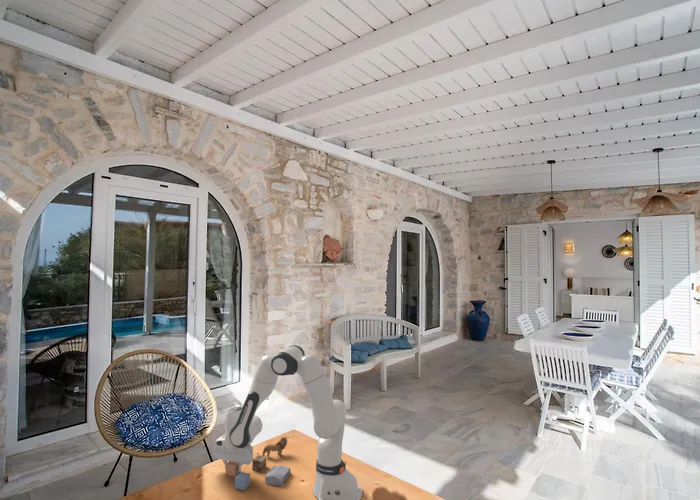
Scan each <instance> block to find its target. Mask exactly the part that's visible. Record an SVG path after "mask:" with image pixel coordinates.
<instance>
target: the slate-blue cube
mask: <svg viewBox="0 0 700 500" xmlns="http://www.w3.org/2000/svg"><path fill="white" fill-rule="evenodd" d="M250 485H251V473H249V472H244V471H240V472H239V473H238V474H237V475H236V476H235V477H234V489H235V490H241V491H245V490H246V489H247V488H248V487H249V486H250Z"/></svg>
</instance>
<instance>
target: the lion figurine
mask: <svg viewBox="0 0 700 500" xmlns="http://www.w3.org/2000/svg"><path fill="white" fill-rule="evenodd" d="M287 444H288V437H287V436H282V437H280V440H278V442H276V443H274V444H272V443H269V444H266V445H265V446H264V448H263V450H262V454H261V456H266V457H267V459H269V460H271V459H272V457H271V456H270V454H271V452H276V454H277V455H279V457H283V455H282V453H283V450H285V449H286V447H287ZM265 454H267V455H265Z"/></svg>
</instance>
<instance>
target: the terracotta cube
mask: <svg viewBox="0 0 700 500" xmlns="http://www.w3.org/2000/svg"><path fill="white" fill-rule="evenodd" d="M227 462H228V463H227V464H226V469H225V476H230V477H234V478H235V477H236V476H237V475H238V474H239V473H240V472H239V471H237V467H238V466H239V463H236V462H231V461H227Z"/></svg>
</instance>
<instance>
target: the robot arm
mask: <svg viewBox="0 0 700 500" xmlns="http://www.w3.org/2000/svg"><path fill="white" fill-rule="evenodd" d="M295 374H297V375H298V376H299V377H300V380H301V382H302V385H303V386H304V389H305V391H306V394H307V396H308V399H309V403H310V407H311V412H312V418H313V430H314V434H315V435H316V437H318V442H317V459H316V462H315V463H316V464H315V472H316V474H315V475H316V476H315V481H314V485H313V489H312V494H313V495H314V496H315V498H316V499H318V500H361V499H362V497H361V496H363V489H362V486H361V485H358V480H357V478H356V476H355V474H352V473H351V471H349V470H348V469H347V468H346V465H347V460H345V461H344V460H343V459H342V457H343V455H342V454H343V439H344V432H345V427H346V426H345V423H346V416H347V407H346V404H345V403H344V401H342V400H340V399H333V389H332V386H331V384H330V382H329V379H328V377H327V375H326V372H325V370H324V367H323V366H322V364H321V363H320V361H319V359H318V358H317V357H316V356H315V355H314V354H305V350H304V349H303V347H301V346H299V345H295V344H294V345H293V344H292V345H289V346H287V347H286V348H282V349H281V350H280V351H279V352H278V351H277V353H276V354H275V355H274V354H265V355H263V356H262V357H261V359H260V360H259V363H258V365H257V366H256V369H255V371H254V376H253V378H252V381H251V384H250V388H249V391H248V393H247V395H246V398H245V401H244V403H243V405H242V406H235V407H232V408H229V410H227V411H226V414H225V418H224V419H225V421H224V431H225V432H224V434H223V435H221V436H219V437H218V438H216V439H215V441H214V446H213V453H212V454H213V455H212V456H213V457H214V459H217V460H222V463H223V465H224V469H225V470H226V464H227V463H228V462H229V461H231V462H236V463H239V466H238V467H237V471H239V473H240V472H242V471H241V470H242V466H243V465H247V466H249V465H250V464H252V462H253V459H254V447H253V445H251V444H250V443H251V442H252V441H253V440H254V439H255V438H257V437H256V436H257V435H259V434H260V433H261V432H262V429H263V423H262V422H263V421H262V419H261V418H260V417H259V416H258V415H256V412H257V410H258V409H259V407H260V406H261V405H262V404H263V402H264V401H266V400H267V398H269V397H270V396H271V395H272V393H273V391H274V389H275V387H276V384H277V382H278V379H279V376H280V377H281V376H282V377H283V376H294V375H295Z"/></svg>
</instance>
